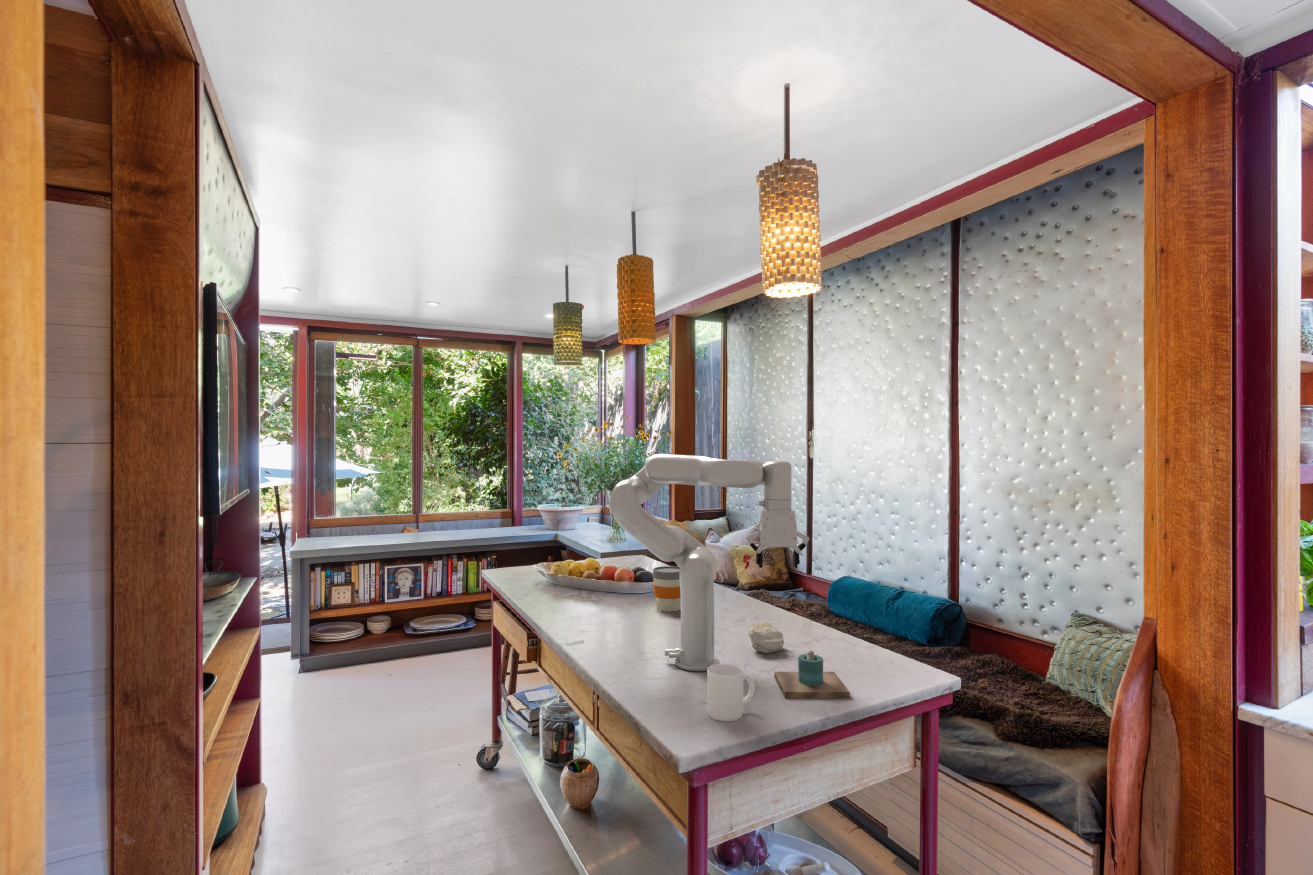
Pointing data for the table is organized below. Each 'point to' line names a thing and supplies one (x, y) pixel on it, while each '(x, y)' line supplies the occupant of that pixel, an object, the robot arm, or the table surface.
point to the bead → (810, 670)
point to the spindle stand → (795, 689)
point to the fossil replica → (766, 638)
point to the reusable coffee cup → (667, 588)
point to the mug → (727, 692)
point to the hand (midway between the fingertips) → (777, 567)
